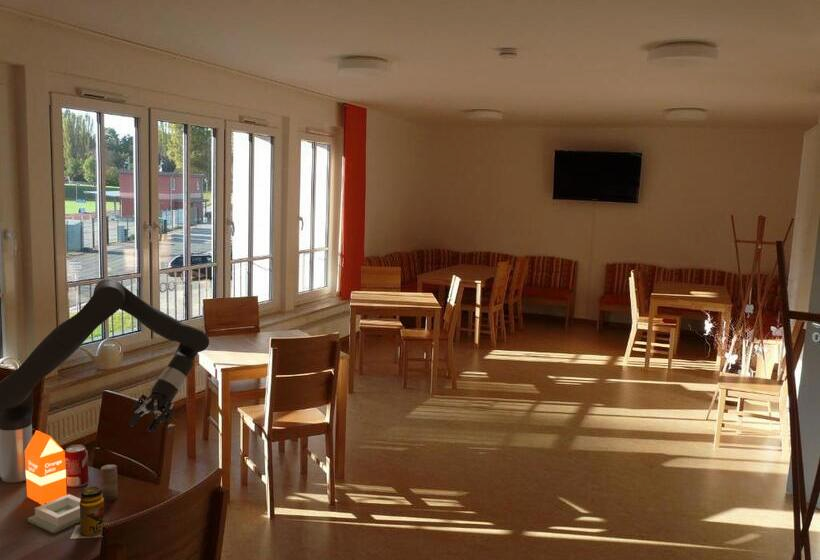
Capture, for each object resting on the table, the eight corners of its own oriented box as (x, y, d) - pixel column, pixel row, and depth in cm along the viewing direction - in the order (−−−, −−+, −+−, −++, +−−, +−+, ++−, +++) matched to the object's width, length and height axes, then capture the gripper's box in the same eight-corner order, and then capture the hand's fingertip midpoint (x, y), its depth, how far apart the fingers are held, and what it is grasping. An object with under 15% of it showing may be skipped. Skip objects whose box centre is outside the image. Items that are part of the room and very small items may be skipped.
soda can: (79, 490, 217) (77, 453, 215) (60, 487, 219) (58, 451, 217) (93, 481, 224) (92, 445, 222) (74, 478, 225) (73, 443, 223)
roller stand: (27, 521, 197) (27, 509, 197) (73, 502, 209) (72, 491, 209) (53, 533, 191) (52, 521, 191) (99, 513, 203) (98, 501, 203)
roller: (98, 498, 212) (97, 468, 211) (111, 492, 216) (110, 463, 215) (108, 502, 210) (107, 472, 209) (121, 496, 214) (120, 466, 213)
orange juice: (52, 487, 218) (48, 426, 215) (67, 496, 213) (64, 433, 210) (26, 496, 212) (22, 433, 209) (41, 505, 207) (38, 440, 204)
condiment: (103, 536, 190) (101, 495, 189) (69, 539, 189) (67, 497, 187) (108, 523, 198) (107, 483, 196) (76, 526, 196) (74, 485, 194)
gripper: (146, 374, 229) (118, 418, 221) (177, 381, 222) (148, 427, 214) (160, 386, 235) (133, 429, 227) (190, 393, 228) (163, 438, 219)
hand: (140, 428), depth 220 cm, fingers open, 8 cm apart
